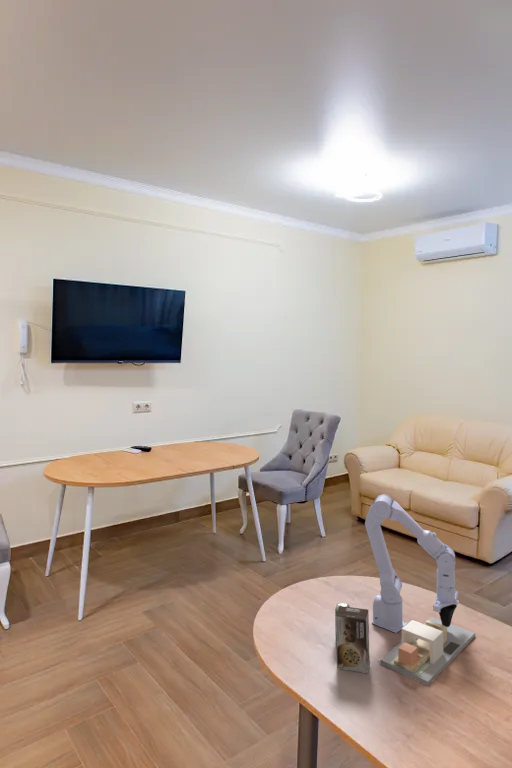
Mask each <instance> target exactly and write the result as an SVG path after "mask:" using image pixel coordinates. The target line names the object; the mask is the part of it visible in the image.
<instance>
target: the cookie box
mask: <svg viewBox="0 0 512 768" xmlns="http://www.w3.org/2000/svg"><path fill="white" fill-rule="evenodd" d="M369 622H370V621H369V609H366V608H360V607H359V608H357V607H353V606H352V607H351V606H350V607H344V606H339V609H338V611H337V614H336V635H335V638H336V637H337V642H336V669H338V668H340V669H339V670H346V671H353V672H358V673H364V674H369V668H370V663H371V662H370V661H371V660H370V627H369V625H370V623H369Z"/></svg>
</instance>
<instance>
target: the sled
mask: <svg viewBox="0 0 512 768" xmlns="http://www.w3.org/2000/svg"><path fill="white" fill-rule="evenodd" d="M424 622H425V625H427V626H430V627H433V628H435V629H438V630H441V631H443V645H444V644H445V643H446V642H447V627H446V626H443V625H441V624H438V623H435V622H432V621H430V620H428V619H427V620H425V621H424ZM412 645H413V646H415V647H418V661H417V662H416V663H415V664H414V665H413V666H412V667H410V666H408V665H405V664H403V663H401V662H399V661H398V657H397V658H396V659H395V660H394V664H396V665H398V666H400V667H402V668H404V669H407V670H409V671H411V672H413V673H415V672H416V671H417V670H418V669H419V668H420V667H421V666H422V665H423V664H424V663H425V662H426V661H427V660H428V659H429V658H430V643H428V642H426V641H423V640H421V639H418V640H417V641H415V642H414V643H413V644H412Z"/></svg>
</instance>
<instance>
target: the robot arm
mask: <svg viewBox="0 0 512 768" xmlns="http://www.w3.org/2000/svg"><path fill="white" fill-rule="evenodd" d="M388 518H389V521H395V522H396V521H397V522H399V523H400V524H402V526H404V527H405V528H406V529H407V530H408V531H410V532H411V533H412V534H413V535H414V536H415V537H416V539H417V540H416V541H417V544H418V545H419V546H420V547H421V548H422V549H423V550H425V552H426V553H428V554H429V555H430V556H431V557H432V558H433V559H435V562H436V565H437V569H436V597H435V601H434V604H433V605H432V608H433V610H432V611H433V612H435V613H438V615H439V617H440V620H441V622H442V625H443V626H446V627H449V626H450V624H452V620H453V615H454V612H455V611H456V609H457V607H458V606H457V605H459V603H460V600H458V599H457V598H459V591H457V590H456V571H455V570H456V567H455V566H456V563H457V562H456V554H455V551H454V550H453V548H452V547H451V546H449V545H447V544H446V543H444V542H443V541H441V539H439V538H438V537H437V533H436V532H435V531H433V532H432V531H431V530H430V529H429V530H427V529H423V527H422V526H421V525H420V524H418V522H417V521H416V520H415V519H414V517H412V516H411V515H410V514H409V513H408V512H407V511H406V510H405V509H404V508H403V507H402V506H401V505H400V504H399V503H398V501H396V500H393V498H392V497H391V496H390V495H388V494H387V493H386V494H385V493H384V494H379V495H377V496H376V498H375V499H374V500H373V502H372V503H371V505H370V507H369V510H368V512H367V515H366V519H365V522H364V526H365V529H366V532H367V533H366V534H367V537H368V539H369V543H370V548H371V550H372V554H373V556H374V560H375V564H376V567H377V571H378V573H379V585H380V591H379V592H380V594H376V596H375V597H374V598H373V601H372V621H371V624H373V625H375V626H378V627H380V628H382V629H385V630H387V631H390V632H392V633H395V634H397V633H399V632H400V631H402V628H403V627H404V626H405V625H407V624H408V623H409V622H406V621H404V620H403V597H402V596H401V590H402V587H403V582H402V580H401V579H400V577H398V575H397V573H396V570H395V569H394V567H393V563H392V561H391V560H392V559H391V556H390V554H389V550H388V548H387V543H386V540H385V536H384V533H383V530H382V526H381V525H382V523H383V522H384V521H385V520H387V519H388Z"/></svg>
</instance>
